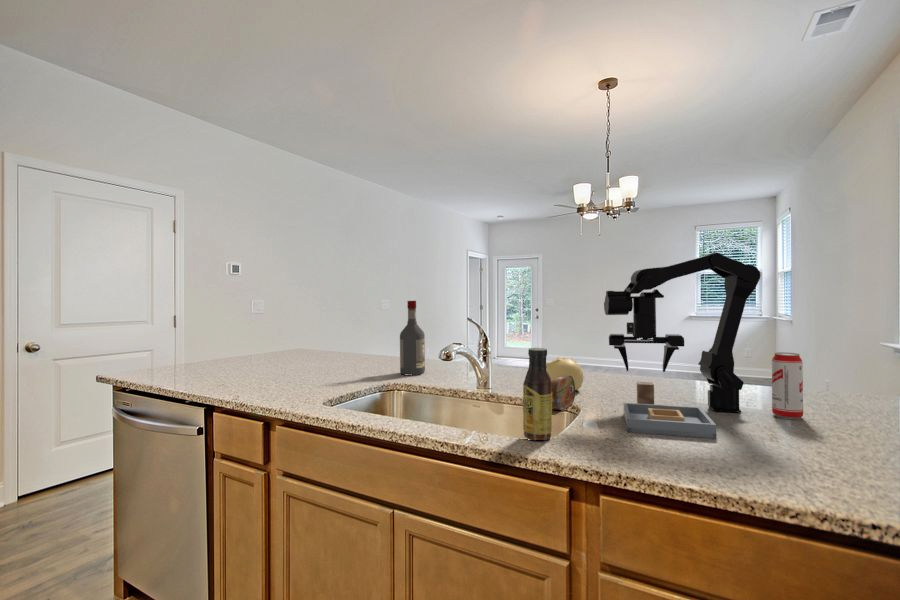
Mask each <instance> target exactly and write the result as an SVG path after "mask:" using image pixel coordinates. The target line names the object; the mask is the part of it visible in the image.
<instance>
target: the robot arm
mask: <svg viewBox="0 0 900 600" xmlns="http://www.w3.org/2000/svg"><path fill="white" fill-rule="evenodd" d="M707 270H710V271H712V272H713V273H715V274H716V275H718V276H719V277H721V278H723V279H724V290H725V300H724V303H723V308H722V311H721V315H720V319H719V323H718V325H717V329H716V333H715V337H714V340H713V344H712V346H711V348H710V349H709V350H708V351H707V350H706V351H705V350H702V352H701V357H700V361H699V362H698V365H699V370H700V371H699V372H700V373H701V375H702V376H703V377H704V378H706V380H707V383H708V384H709V389H708V390H707V405H708V407H709V408H710V409H711V410H712V411H714V412H721V413H722V412H725V413H726V412H727V413H739V414H740V413H742V410H741V409H740V391H742V389H743V386H744V381H743V380H742V379H741V378H740V377H739V376H737V374H736V373H734V372H735V358H734V353H733V350H734V347H735V342H736V339H737V335H738V331H739V328H740V325H741V321H742V317H743V313H744V310H745V306H746V302H747V300H748V299H749V298H750V296H751V294H753V292H755V290H756V289H757V285H758V283H759V282H760V279H761V272H760V270H759V269H758V268H757V266H755V265H753V264H745V263H743V262H741V261H738V260H736V259H732V258H730V257H727V256H725V255H723V254H721V253H720V252H711V253H708V254H705V255H703V256H700V257H696V258H692V259H688V260H685V261H681V262H678V263H674V264H671V265H667V266H661V267H649V268H642V269H638V270H636V271H634V272H633V273H632V275H631V277H630V282H629V283H628V285H627V286H626V287H625V289H624V290H623V291H621V290H619V291H617V290H616V291H615V290H606V291H605V298H604V302H603V307H604V308H603V310H604V311H603V312H604V315H606V316H627V315H629V313H630V312H632V311H633V313H632V317H633V321H632V322H626V334H627V335H632V336H625V335H624V333H610V334H608V345H609V346H613V349H615V350H616V349H617V350H618V351H619V353H620V356H621V357H622V361H623V363H624V366H625V369H626V372H629V361H628V354H627V347H626V344H665V345H663V359H662V373H666V370H667V368H668V364H669V362H670V360H671V358H672V356H673V355H674V352H675V350H680V347H685V337H683V336H682V335H680V333H677V334H676V333H675V334H674V333H673V334H671V333H670V334H669V333H665V336H657V303H656V301H657V300H656V299H662V298H665V295H663V293H661V292H660V291H659V290H658V289H657V287H659V286H661V285H663V284H665V283H666V282H669V281H671V280H673V279H674V280H675V279H676V278H677V279H678V278H681V277H685V276H688V275H691V274H695V273H700V272H703V271H707ZM648 290H653V291H648ZM644 291H645V292H644ZM633 294H637V296H633ZM638 294H639V295H638Z"/></svg>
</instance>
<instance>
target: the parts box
mask: <svg viewBox="0 0 900 600" xmlns="http://www.w3.org/2000/svg"><path fill="white" fill-rule="evenodd" d="M623 417H624V423H625V428H626V431H627V433H636V434H637V433H638V434H639V433H640V434H650V435H652V434H653V435H654V434H655V435H661V436H662V435H663V436H664V435H665V436H675V437H676V436H677V437H691V438H703V439H704V438H705V439H716V440H717V438H718V437H717V424H716V423H715V422H714V421H713V419H712V418H711V417H710V416H709V415H708V414H707V413H706V412H705V411H704V410H703V408H702V407H701V406H686V405H668V404H667V405H666V404H655V403H654V404H637V402H636V403H635V402H633V403H632V402H623Z"/></svg>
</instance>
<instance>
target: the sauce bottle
mask: <svg viewBox="0 0 900 600" xmlns="http://www.w3.org/2000/svg"><path fill="white" fill-rule="evenodd" d="M527 354H528V357H529V358H528V359H529V360H528V368H527V372H526V374H525V378H524V381H523V385H522V386H523V387H522V388H523V389H522V390H523V393H522V394H523V395H522V397H523V398H522V399H523V400H522V402H523V403H522V406H523V407H522V409H523V411H522V413H523V414H522V415H523V416H522V417H523V418H522V421H523V423H522V425H523V426H522V427H523V428H522V430H523V436H524V438H526V439H528V440H530V441H532V440H544V441H548V440H550V439H551V438H552V431H553V430H552V429H553V428H552V427H553V416H552V415H553V409H552V391H551V383H552V382H551V378H550V376H549V374H548V372H547V371H546V368H547V366H546V364H547V357H548V349H547V348H544V347H531V348H528V353H527ZM547 439H548V440H547Z"/></svg>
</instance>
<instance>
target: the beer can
mask: <svg viewBox="0 0 900 600" xmlns="http://www.w3.org/2000/svg"><path fill="white" fill-rule="evenodd" d="M773 354H774V355H773V357H772V359H771V411H772V414H773V415H774V416H775V417H777V418H779V419H784V420H791V421H793V420H796V421H797V420H800V419H802V418H803V416H804V370H803V368H804V365H803V364H804V363H803V360H802V358H801V357H800V356H801V355H800V353H795V352H783V351H782V352H779V351H778V352H774V353H773Z"/></svg>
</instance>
